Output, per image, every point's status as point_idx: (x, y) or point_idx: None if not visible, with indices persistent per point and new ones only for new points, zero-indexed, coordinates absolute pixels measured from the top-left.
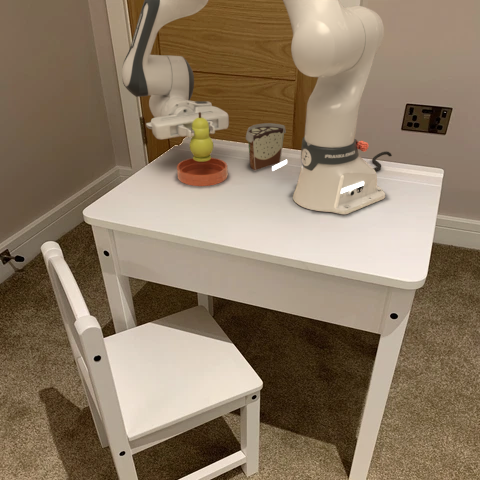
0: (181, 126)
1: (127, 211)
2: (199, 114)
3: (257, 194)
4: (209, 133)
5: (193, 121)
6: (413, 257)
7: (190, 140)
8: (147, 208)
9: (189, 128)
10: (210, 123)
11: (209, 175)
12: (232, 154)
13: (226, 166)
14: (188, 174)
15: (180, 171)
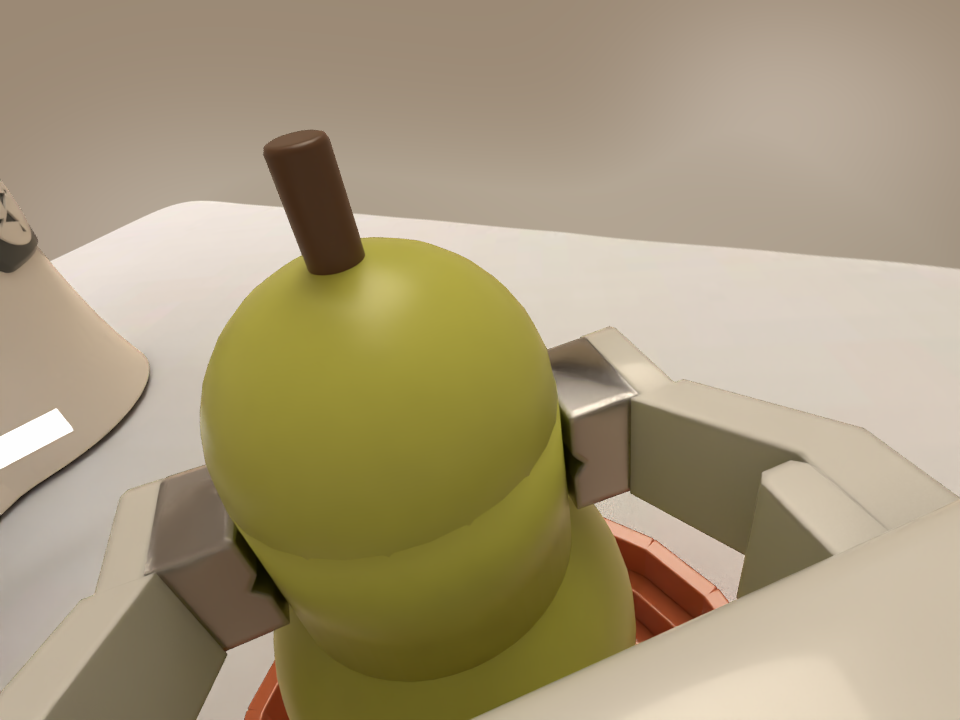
0: (823, 455)
1: (892, 318)
2: (326, 170)
3: None
4: None
5: (505, 302)
6: (117, 235)
7: (611, 557)
8: (801, 341)
9: (608, 396)
10: (59, 674)
11: None
12: None
13: (263, 688)
14: (627, 528)
15: (718, 592)
